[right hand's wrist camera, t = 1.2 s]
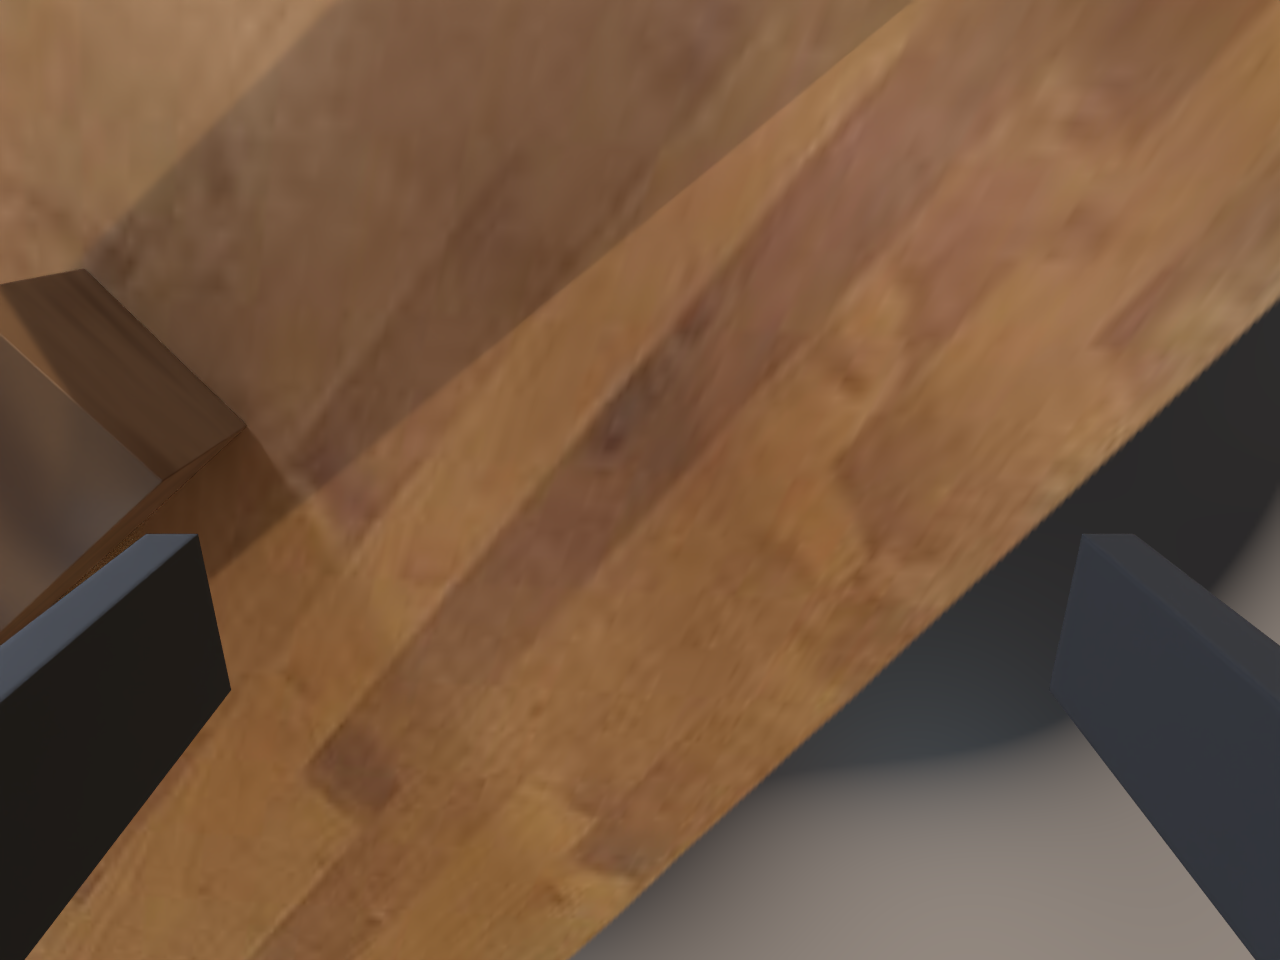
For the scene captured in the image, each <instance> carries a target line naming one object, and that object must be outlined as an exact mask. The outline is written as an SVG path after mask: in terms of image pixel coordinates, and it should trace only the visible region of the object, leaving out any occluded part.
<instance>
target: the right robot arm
mask: <svg viewBox="0 0 1280 960" xmlns="http://www.w3.org/2000/svg"><path fill="white" fill-rule="evenodd" d="M230 691H231V687H230V682H229V678H228V673H227V668H226V664H225V659H224V654H223V650H222V645H221V640H220V636H219V631H218V626H217V621H216V617H215V612H214V607H213V603H212V598H211V593H210V589H209V584H208V579H207V575H206V570H205V565H204V561H203V556H202V551H201V546H200V542H199V537H198V534H146V535H144V536H143V537H142V538H140V539H139V540H138V541H136V542H135V543H134V544H132V545H131V546H130V547H129V548H127V549H126V550H125V551H123V552H122V553H121V554H119V555H118V556H117V557H115V558H114V559H113V560H112V561H110V562H109V563H108V564H106V565H105V566H104V567H102V568H101V569H100V570H99V571H97V572H96V573H95V574H93V575H92V576H91V577H89V578H88V579H87V580H85V581H84V582H83V583H82V584H80V585H79V586H78V587H76V588H75V589H74V590H72V591H71V592H70V593H68V594H67V595H66V596H65V597H63V598H62V599H61V600H59V601H58V602H57V603H55V604H54V605H53V606H52V607H50V608H49V609H48V610H46V611H45V612H44V613H42V614H41V615H40V616H38V617H37V618H36V619H35V620H33V621H32V622H31V623H29V624H28V625H27V626H25V627H24V628H23V629H21V630H20V631H19V632H18V633H16V634H15V635H14V636H12V637H11V638H10V639H8V640H7V641H6V642H5V643H3V644H2V645H1V646H0V960H25V958H26V957H27V956H28V955H29V953H30V952H31V951H32V949H33V948H34V947H35V945H36V944H37V943H38V942H39V940H40V939H41V938H42V936H43V935H44V934H45V932H46V931H47V930H48V928H49V927H50V926H51V925H52V923H53V922H54V921H55V919H56V918H57V917H58V915H59V914H60V913H61V911H62V910H63V909H64V908H65V906H66V905H67V904H68V902H69V901H70V900H71V898H72V897H73V896H74V894H75V893H76V892H77V891H78V889H79V888H80V887H81V885H82V884H83V883H84V881H85V880H86V879H87V878H88V876H89V875H90V874H91V872H92V871H93V870H94V868H95V867H96V866H97V864H98V863H99V862H100V861H101V859H102V858H103V857H104V855H105V854H106V853H107V851H108V850H109V849H110V847H111V846H112V845H113V844H114V842H115V841H116V840H117V838H118V837H119V836H120V834H121V833H122V832H123V830H124V829H125V828H126V827H127V825H128V824H129V823H130V821H131V820H132V819H133V817H134V816H135V815H136V813H137V812H138V811H139V810H140V808H141V807H142V806H143V804H144V803H145V802H146V800H147V799H148V798H149V797H150V795H151V794H152V793H153V791H154V790H155V789H156V787H157V786H158V785H159V783H160V782H161V781H162V780H163V778H164V777H165V776H166V774H167V773H168V772H169V770H170V769H171V768H172V766H173V765H174V764H175V763H176V761H177V760H178V759H179V757H180V756H181V755H182V753H183V752H184V751H185V749H186V748H187V747H188V746H189V744H190V743H191V742H192V740H193V739H194V738H195V736H196V735H197V734H198V733H199V731H200V730H201V729H202V727H203V726H204V725H205V723H206V722H207V721H208V719H209V718H210V717H211V716H212V714H213V713H214V712H215V710H216V709H217V708H218V706H219V705H220V704H221V702H222V701H223V700H224V699H225V697H226V696H227V695H228V693H229V692H230ZM1049 691H1050V692H1051V693H1052V695H1053V696H1054V697H1055V699H1056V700H1057V701H1058V702H1059V704H1060V705H1061V706H1062V708H1063V709H1064V710H1065V712H1066V713H1067V714H1068V716H1069V717H1070V718H1071V719H1072V721H1073V722H1074V723H1075V725H1076V726H1077V727H1078V729H1079V730H1080V731H1081V732H1082V734H1083V735H1084V736H1085V738H1086V739H1087V740H1088V742H1089V743H1090V744H1091V746H1092V747H1093V748H1094V749H1095V751H1096V752H1097V753H1098V755H1099V756H1100V757H1101V759H1102V760H1103V761H1104V763H1105V764H1106V765H1107V766H1108V768H1109V769H1110V770H1111V772H1112V773H1113V774H1114V776H1115V777H1116V778H1117V780H1118V781H1119V782H1120V783H1121V785H1122V786H1123V787H1124V789H1125V790H1126V791H1127V793H1128V794H1129V795H1130V796H1131V798H1132V799H1133V800H1134V802H1135V803H1136V804H1137V806H1138V807H1139V808H1140V809H1141V811H1142V812H1143V813H1144V815H1145V816H1146V817H1147V819H1148V820H1149V821H1150V822H1151V824H1152V825H1153V826H1154V828H1155V829H1156V830H1157V832H1158V833H1159V834H1160V836H1161V837H1162V838H1163V840H1164V841H1165V842H1166V844H1167V845H1168V846H1169V847H1170V849H1171V850H1172V851H1173V853H1174V854H1175V855H1176V857H1177V858H1178V859H1179V860H1180V862H1181V863H1182V864H1183V866H1184V867H1185V868H1186V870H1187V871H1188V872H1189V874H1190V875H1191V876H1192V877H1193V879H1194V880H1195V881H1196V883H1197V884H1198V885H1199V887H1200V888H1201V889H1202V891H1203V892H1204V893H1205V894H1206V896H1207V897H1208V898H1209V900H1210V901H1211V902H1212V904H1213V905H1214V906H1215V908H1216V909H1217V910H1218V911H1219V913H1220V914H1221V915H1222V917H1223V918H1224V919H1225V921H1226V922H1227V923H1228V925H1229V926H1230V927H1231V928H1232V930H1233V931H1234V932H1235V934H1236V935H1237V936H1238V938H1239V939H1240V940H1241V942H1242V943H1243V944H1244V945H1245V947H1246V948H1247V949H1248V951H1249V952H1250V953H1251V955H1252V956H1253V957H1254V958H1255V960H1280V646H1279V645H1278V644H1277V643H1275V642H1274V641H1273V640H1272V639H1270V638H1269V637H1268V636H1266V635H1265V634H1264V633H1262V632H1261V631H1260V630H1259V629H1257V628H1256V627H1255V626H1253V625H1252V624H1251V623H1249V622H1248V621H1247V620H1245V619H1244V618H1243V617H1242V616H1240V615H1239V614H1238V613H1236V612H1235V611H1234V610H1232V609H1231V608H1230V607H1228V606H1227V605H1226V604H1225V603H1223V602H1222V601H1221V600H1219V599H1218V598H1217V597H1215V596H1214V595H1213V594H1212V593H1210V592H1209V591H1207V590H1206V589H1205V588H1204V587H1202V586H1201V585H1200V584H1198V583H1197V582H1196V581H1195V580H1193V579H1192V578H1191V577H1189V576H1188V575H1187V574H1185V573H1184V572H1183V571H1181V570H1180V569H1179V568H1177V567H1176V566H1175V565H1174V564H1172V563H1171V562H1170V561H1168V560H1167V559H1166V558H1165V557H1163V556H1162V555H1161V554H1159V553H1158V552H1157V551H1155V550H1154V549H1153V548H1151V547H1150V546H1149V545H1148V544H1146V543H1145V542H1143V541H1142V540H1141V539H1140V538H1138V537H1137V536H1136V535H1134V534H1082V537H1081V542H1080V547H1079V551H1078V556H1077V561H1076V565H1075V570H1074V575H1073V579H1072V584H1071V589H1070V593H1069V598H1068V603H1067V608H1066V612H1065V617H1064V622H1063V626H1062V631H1061V636H1060V640H1059V645H1058V650H1057V654H1056V659H1055V664H1054V669H1053V673H1052V678H1051V682H1050V687H1049Z"/></svg>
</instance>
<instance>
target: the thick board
mask: <svg viewBox="0 0 1280 960" xmlns="http://www.w3.org/2000/svg"><path fill="white" fill-rule="evenodd" d="M245 427H246V424H245V423H244V422H243V421H242V420H241V419H240V418H238V417H237V416H236V415H235V414H234V413H233V412H232V411H231V410H230V409H229V408H228V407H227V406H226V405H225V404H224V403H223V402H222V401H221V400H220V399H219V398H218V397H217V396H216V395H215V394H214V393H213V392H211V391H210V390H209V389H208V388H207V387H206V386H205V385H204V384H203V383H202V382H201V381H200V380H199V379H198V378H197V377H196V376H195V375H194V374H193V373H192V372H191V371H190V370H189V369H188V368H187V367H186V366H184V365H183V364H182V363H181V362H180V361H179V360H178V359H177V358H176V357H175V356H174V355H173V354H172V353H171V352H170V351H169V350H168V349H167V348H166V347H165V346H164V345H163V344H162V343H161V342H160V341H159V340H157V339H156V338H155V337H154V336H153V335H152V334H151V333H150V332H149V331H148V330H147V329H146V328H145V327H144V326H143V325H142V324H141V323H140V322H139V321H138V320H137V319H136V318H135V317H134V316H133V315H132V314H131V313H129V312H128V311H127V310H126V309H125V308H124V307H123V306H122V305H121V304H120V303H119V302H118V301H117V300H116V299H115V298H114V297H113V296H112V295H111V294H110V293H109V292H108V291H107V290H106V289H105V288H104V287H102V286H101V285H100V284H99V283H98V282H97V281H96V280H95V279H94V278H93V277H92V276H91V275H90V274H89V273H88V272H87V271H86V270H85V269H79V270H73V271H68V272H63V273H57V274H52V275H47V276H41V277H36V278H31V279H25V280H20V281H15V282H9V283H4V284H0V646H1V645H2V644H3V643H5V642H6V641H7V640H8V639H10V638H11V637H12V636H14V635H15V634H16V633H18V632H19V631H20V630H21V629H23V628H24V627H25V626H27V625H28V624H29V623H31V622H32V621H33V620H35V619H36V618H37V617H38V616H40V615H41V614H42V613H44V612H45V611H46V610H48V609H49V608H50V607H51V606H52V605H53V604H54V603H55V602H56V601H57V600H58V599H60V598H61V597H62V596H63V595H64V594H65V593H66V592H67V591H68V590H69V589H70V588H71V587H73V586H74V585H75V584H76V583H77V582H78V581H79V580H80V579H81V578H82V577H83V576H85V575H86V574H87V573H88V572H89V571H90V570H91V569H92V568H93V567H94V566H95V565H96V564H98V563H99V562H100V561H101V560H102V559H103V558H104V557H105V556H106V555H107V554H108V553H110V552H111V551H112V550H113V549H114V548H115V547H116V546H117V545H118V544H119V543H120V542H121V541H123V540H124V539H125V538H126V537H127V536H128V535H129V534H130V533H131V532H132V531H133V530H134V529H136V528H137V527H138V526H139V525H140V524H141V523H142V522H143V521H144V520H145V519H146V518H148V517H149V516H150V515H151V514H152V513H153V512H154V511H155V510H156V509H157V508H158V507H159V506H161V505H162V504H163V503H164V502H165V501H166V500H167V499H168V498H169V497H170V496H171V495H173V494H174V493H175V492H176V491H177V490H178V489H179V488H180V487H181V486H182V485H183V484H184V483H186V482H187V481H188V480H189V479H190V478H191V477H192V476H193V475H194V474H195V473H196V472H198V471H199V470H200V469H201V468H202V467H203V466H204V465H205V464H206V463H207V462H208V461H209V460H211V459H212V458H213V457H214V456H215V455H216V454H217V453H218V452H219V451H220V450H221V449H223V448H224V447H225V446H226V445H227V444H228V443H229V442H230V441H231V440H232V439H233V438H234V437H236V436H237V435H238V434H239V433H240V432H241V431H242V430H243V429H244V428H245Z"/></svg>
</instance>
